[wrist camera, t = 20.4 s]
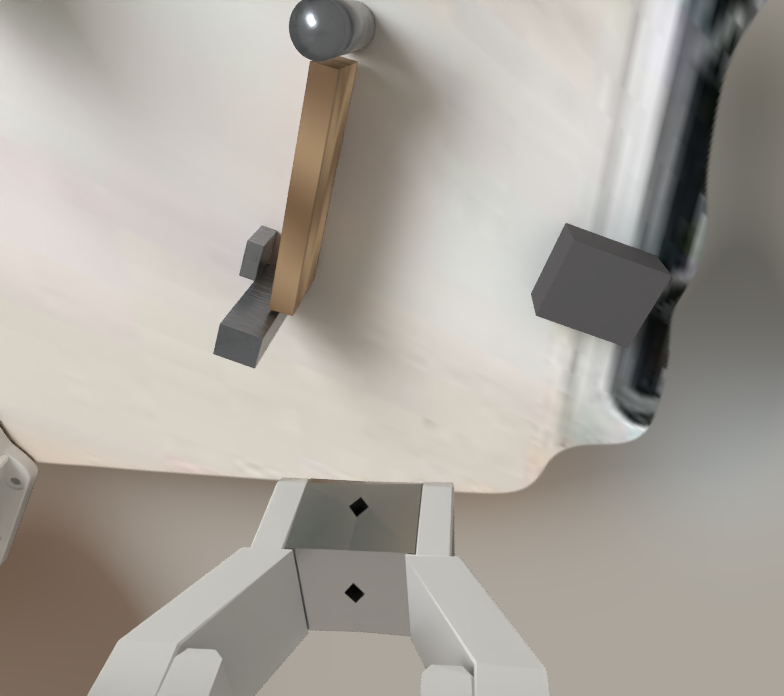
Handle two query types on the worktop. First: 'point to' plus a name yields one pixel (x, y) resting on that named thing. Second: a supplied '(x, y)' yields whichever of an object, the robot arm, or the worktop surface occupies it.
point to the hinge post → (330, 28)
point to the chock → (599, 285)
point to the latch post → (252, 306)
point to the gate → (312, 179)
